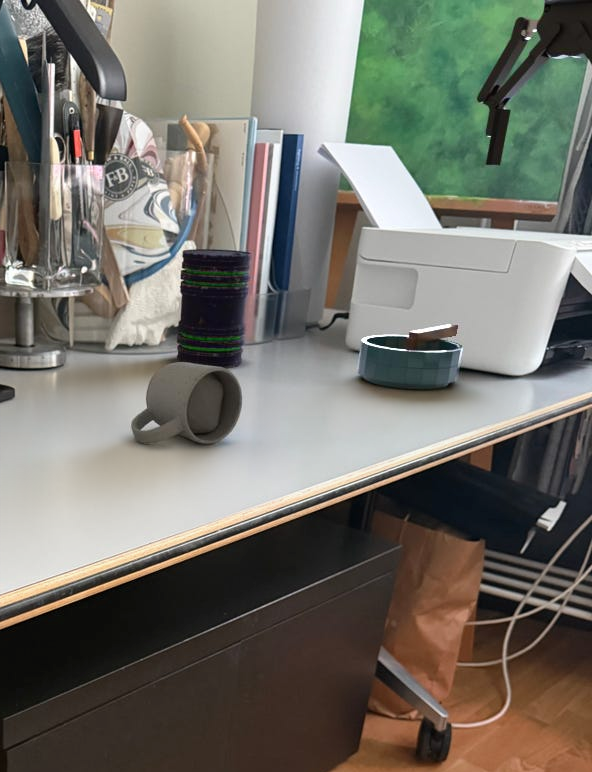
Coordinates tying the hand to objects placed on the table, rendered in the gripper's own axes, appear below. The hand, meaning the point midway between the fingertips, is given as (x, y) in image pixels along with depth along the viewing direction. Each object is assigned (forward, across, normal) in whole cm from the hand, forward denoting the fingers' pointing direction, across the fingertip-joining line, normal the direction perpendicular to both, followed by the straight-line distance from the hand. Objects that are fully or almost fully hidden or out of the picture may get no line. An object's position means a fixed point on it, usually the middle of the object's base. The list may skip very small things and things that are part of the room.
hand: (543, 166), depth 120 cm
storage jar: (+27, -33, -24) cm, 49 cm away
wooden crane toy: (+26, -7, -6) cm, 27 cm away
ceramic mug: (+27, -7, -60) cm, 66 cm away
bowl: (+27, -7, -13) cm, 31 cm away
